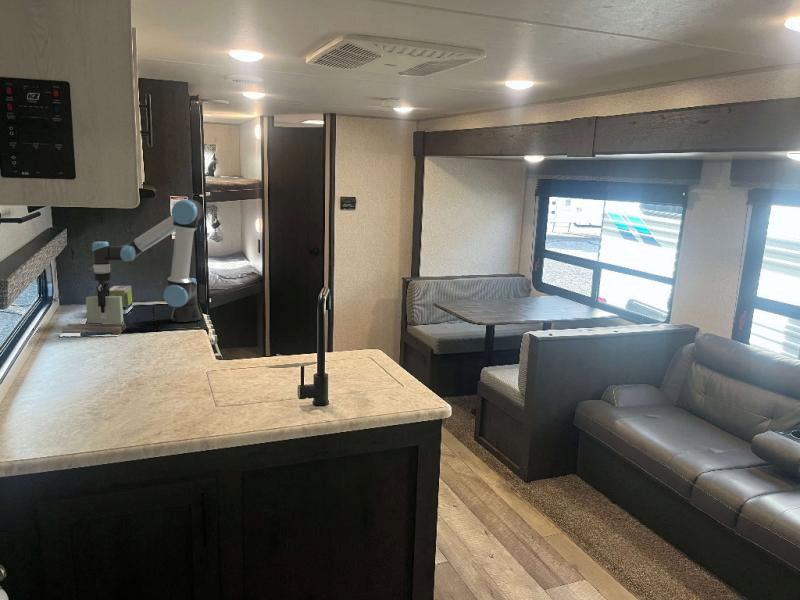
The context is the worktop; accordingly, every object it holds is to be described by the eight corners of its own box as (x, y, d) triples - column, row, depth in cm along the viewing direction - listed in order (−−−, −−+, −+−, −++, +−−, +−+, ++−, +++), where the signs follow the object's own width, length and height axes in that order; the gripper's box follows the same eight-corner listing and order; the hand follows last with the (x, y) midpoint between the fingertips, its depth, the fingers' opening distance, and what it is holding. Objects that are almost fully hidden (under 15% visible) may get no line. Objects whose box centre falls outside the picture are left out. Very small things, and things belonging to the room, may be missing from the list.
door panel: (90, 323, 312) (88, 296, 309) (123, 322, 314) (121, 296, 312) (87, 325, 308) (85, 297, 305) (121, 324, 311) (119, 297, 308)
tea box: (114, 311, 345) (113, 285, 342) (133, 311, 347) (132, 285, 344) (106, 316, 330) (105, 289, 328) (126, 316, 332) (125, 289, 329)
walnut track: (72, 328, 301) (71, 321, 301) (128, 328, 306) (127, 321, 305) (58, 337, 284) (58, 330, 283) (118, 336, 288) (117, 329, 288)
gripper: (99, 270, 314) (102, 314, 318) (88, 274, 297) (92, 321, 302) (115, 270, 315) (117, 314, 320) (105, 274, 299) (108, 321, 303)
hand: (105, 317), depth 311 cm, fingers closed on door panel, 4 cm apart
